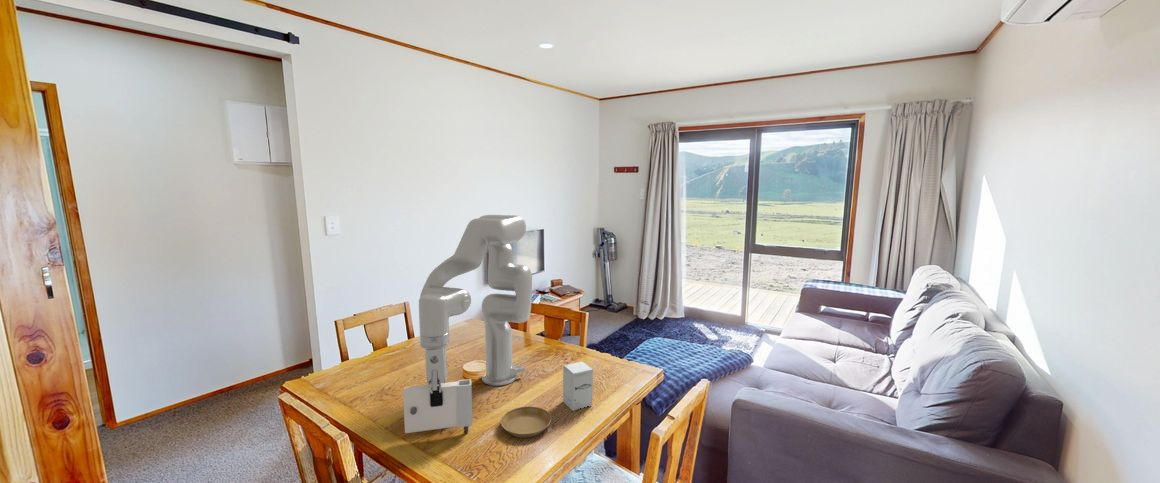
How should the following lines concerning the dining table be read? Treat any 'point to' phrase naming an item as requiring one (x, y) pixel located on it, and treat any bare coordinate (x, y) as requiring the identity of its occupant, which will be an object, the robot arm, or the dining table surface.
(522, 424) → the plant saucer
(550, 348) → the dining table surface
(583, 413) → the dining table surface
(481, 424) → the dining table surface
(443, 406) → the door
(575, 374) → the supplement box
